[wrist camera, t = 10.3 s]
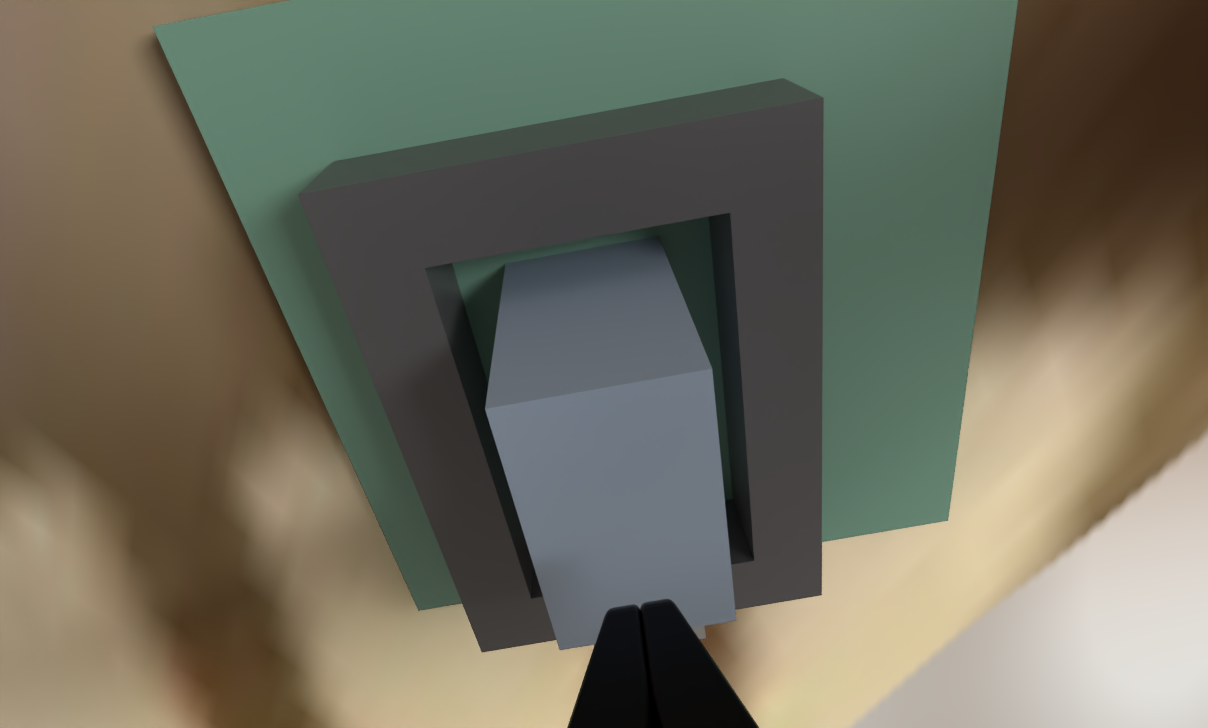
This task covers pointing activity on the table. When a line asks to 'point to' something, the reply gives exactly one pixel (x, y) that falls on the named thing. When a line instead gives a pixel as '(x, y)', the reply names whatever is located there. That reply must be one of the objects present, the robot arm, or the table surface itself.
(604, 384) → the plug
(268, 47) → the circuit board
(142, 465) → the table surface
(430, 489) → the header socket
